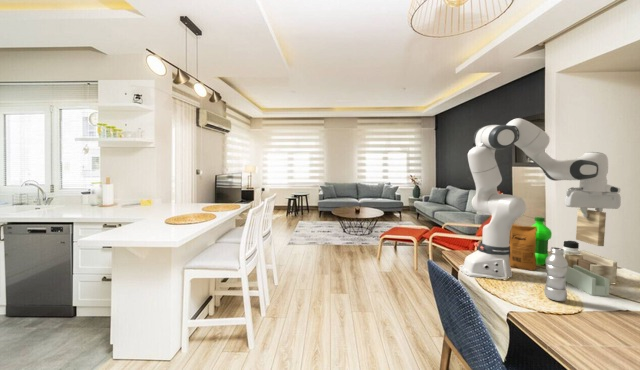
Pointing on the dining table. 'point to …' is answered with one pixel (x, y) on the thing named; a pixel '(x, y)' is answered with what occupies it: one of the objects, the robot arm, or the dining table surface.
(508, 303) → the dining table surface
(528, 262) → the coffee package
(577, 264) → the offcut low
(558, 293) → the plastic bottle
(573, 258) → the offcut top
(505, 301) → the dining table surface
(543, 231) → the plastic bottle
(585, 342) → the dining table surface
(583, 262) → the offcut tall
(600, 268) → the box
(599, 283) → the stand
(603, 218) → the light wood flat panel
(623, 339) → the dining table surface
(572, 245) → the medicine bottle
